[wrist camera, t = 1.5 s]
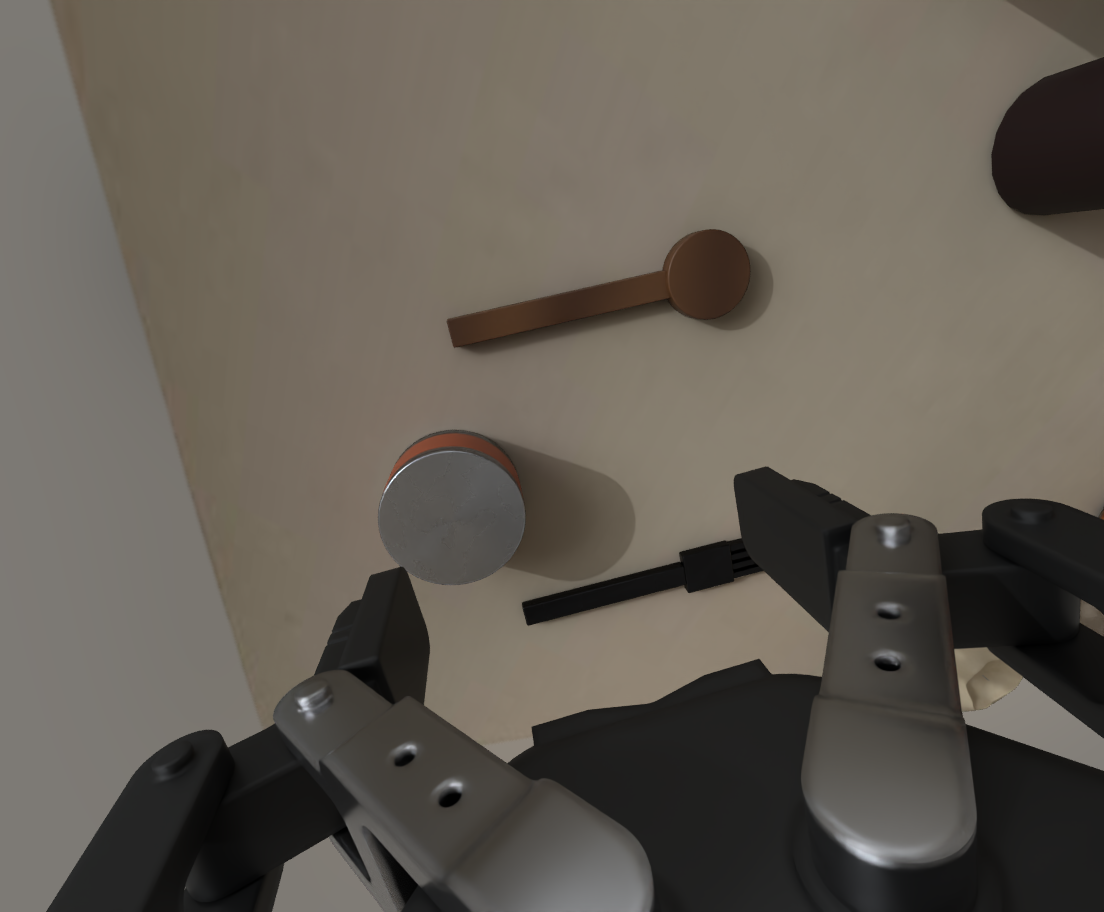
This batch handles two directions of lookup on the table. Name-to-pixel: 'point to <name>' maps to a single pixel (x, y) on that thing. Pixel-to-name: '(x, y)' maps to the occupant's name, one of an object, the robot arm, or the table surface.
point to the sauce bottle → (1102, 515)
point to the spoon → (630, 291)
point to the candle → (983, 678)
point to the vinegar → (1054, 144)
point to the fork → (650, 581)
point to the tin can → (452, 508)
